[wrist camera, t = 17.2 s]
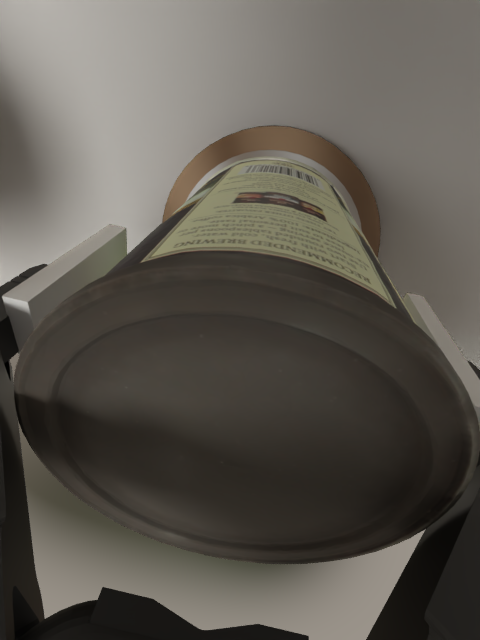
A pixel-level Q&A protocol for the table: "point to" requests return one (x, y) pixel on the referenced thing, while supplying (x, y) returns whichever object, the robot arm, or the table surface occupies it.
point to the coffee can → (250, 383)
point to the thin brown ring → (292, 147)
